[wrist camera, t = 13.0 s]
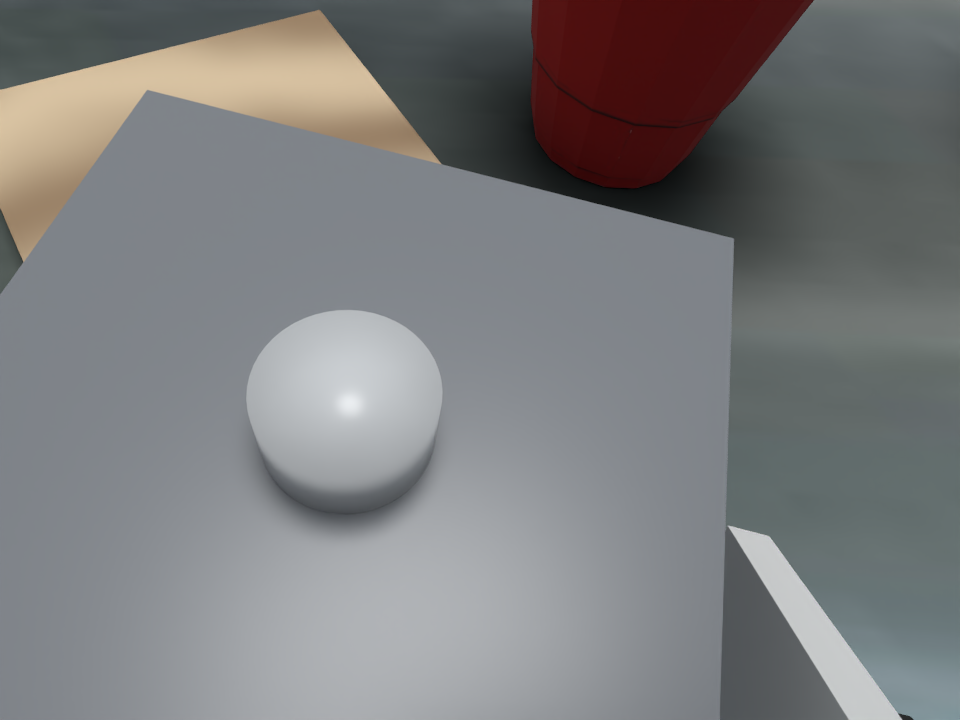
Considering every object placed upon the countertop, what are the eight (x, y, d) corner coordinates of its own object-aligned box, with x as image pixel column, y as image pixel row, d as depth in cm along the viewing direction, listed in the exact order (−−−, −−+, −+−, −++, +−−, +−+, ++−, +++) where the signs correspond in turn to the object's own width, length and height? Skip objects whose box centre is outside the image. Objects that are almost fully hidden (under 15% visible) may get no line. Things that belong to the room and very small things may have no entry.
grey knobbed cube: (572, 480, 19) (765, 190, 10) (510, 887, 14) (767, 1082, 5) (246, 398, 19) (127, 29, 10) (78, 779, 14) (-466, 774, 5)
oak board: (495, 264, 23) (501, 239, 22) (105, 436, 18) (89, 415, 17) (321, 39, 27) (319, 10, 26) (-27, 132, 22) (-46, 101, 21)
